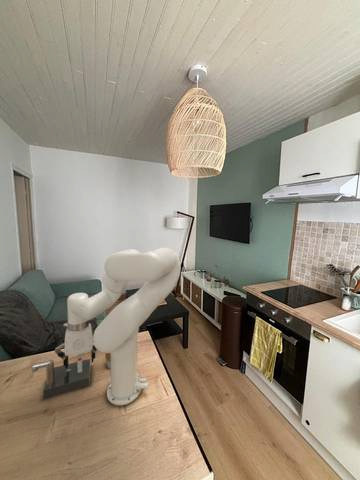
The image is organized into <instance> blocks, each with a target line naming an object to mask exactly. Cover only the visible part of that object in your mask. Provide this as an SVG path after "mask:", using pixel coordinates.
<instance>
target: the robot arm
mask: <svg viewBox="0 0 360 480" xmlns="http://www.w3.org/2000/svg"><path fill="white" fill-rule="evenodd" d="M181 268H182V267H181V261H180V258H179V256H178V254H177V252H176V251H175V250H174V249H172V248H170V247H159V248H156V249H153V250H150V251H147V252H141V251H140V250H137V249H134V248H130V249H124V250H120V251H116V252H113V253H112V254H110V255H109V256H108V257H107V258H106V260H105V261H104V272H105V273H104V275H103V277H102V285H103V287H104V288H103V289H102V290H101V291H100V292H98V293H96V294H94V295H92V296H90V297H89V295H88V294H87V293H85V292H75V293H72V294H70V295H69V296H68V297H67V298H66V299H67V300H66V305H67V306H66V307H67V309H66V310H67V322H66V323H63V328H66V329H65V334H64V343H61V344H60V345H58V346H57V347H55V349H54V353H55V354H56V355H57V357H59V358H61V360H62V362H63V363H62V365H64V366H65V369H67V368H68V364H69V356H75V355H78V354H80V353H83V354H84V353H88V352H91V353H90V355H91V358H90V363H94V360H95V359H96V352H97V351H98V352H99V353H102V354H105V353H111V368H110V383H109V385H108V387H107V389H106V398H107V400H108V401H109V402H110V404H112V405H114V406H125V405H129V404H130V403H133V401H136V399H137V398H138V397H139V395H140V394H141V391H142V390H148V389H149V387H150V386H149V383H150V382H147V377H143V378H141V377H140V373H138V335H139V330H140V327H141V326H142V325H143V324H144V323H145V322H146V321H147V320H148V319H149V317H150V316H151V314H152V313H153V312H154V311H155V310H156V309H157V308H158V307H159V306H160V305H161V303H162V302H163V301H164V300H165V299H167V297H168V296H169V295H170V294H171V292H172V291H173V290H174V289H175V287H176V285H177V283H178V281H179V279H180V276H181ZM130 282H144V284H143V285H142V286H141V287H140V288H139V289H138V290H137V291H136V292H135V293H134V294H132V295H130V296H129V297H127V298H125V299H124V300H123V301H121V302H120V303H118V304H117V305H116V306H115V307H114V308H113V309H111V311H110V312H109V313H107V315H106V316H105V318H104V319H103V320H102V321H101V322H100V323H99V324H98V325H97V327H96V328H95V330H94V332H93V328H92V325H91V323H90V321H91V320H93V319H94V318H96V317H98V316H99V315H101V314H102V313H104V312H105V311H107V310H109V309H110V308H111V307H112V306H113V305H115V303H116V302H117V301H118V300H119V299H120V298H121V296H122V295H123V292H124V289H125V288H126V286H128V284H129V283H130ZM63 349H64V351H62V350H63Z"/></svg>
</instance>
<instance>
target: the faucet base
mask: <svg viewBox="0 0 360 480" xmlns="http://www.w3.org/2000/svg"><path fill="white" fill-rule="evenodd" d="M93 365H94V363H91V358H88V359H83V370H82V372H80V373H78V365H77V361H76V362H71V363H68V368H67V369H65V366H64V365H63V364H62V365H59V366H54V376H55V384H54V385H53V386H50V387H48V386H47V379H46V380H45V384H44V386H43V390H42V392H43V400H44V399H49V398H52V397H55V396H59V395H62V394H65V393H69V392H72V391H77V390H80V389H83V388H87V387H90V386H91V384H90V383H91V369H92V368H91V366H93Z"/></svg>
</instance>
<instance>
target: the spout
mask: <svg viewBox="0 0 360 480" xmlns="http://www.w3.org/2000/svg"><path fill="white" fill-rule="evenodd" d="M54 367H55V361H54V359H48V360H44V361H40V362H36V363H32V367H31V372H32V373H36V372H37V371H39V369H42V368H45V373H46V375H45V376H46V380H47V386H48V387H50V386H53V385H54V384H55V376H54Z"/></svg>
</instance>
